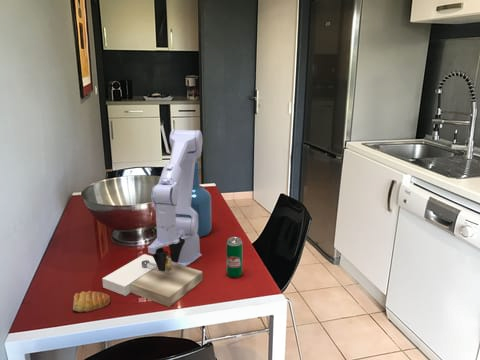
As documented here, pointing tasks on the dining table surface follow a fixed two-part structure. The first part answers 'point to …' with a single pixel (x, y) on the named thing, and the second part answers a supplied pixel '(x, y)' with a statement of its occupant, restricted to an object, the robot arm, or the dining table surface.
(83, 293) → the pastry
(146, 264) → the bar
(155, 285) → the slab
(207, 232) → the blue bottle
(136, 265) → the frame slab
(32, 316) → the dining table surface
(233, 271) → the soda can
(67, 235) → the dining table surface
